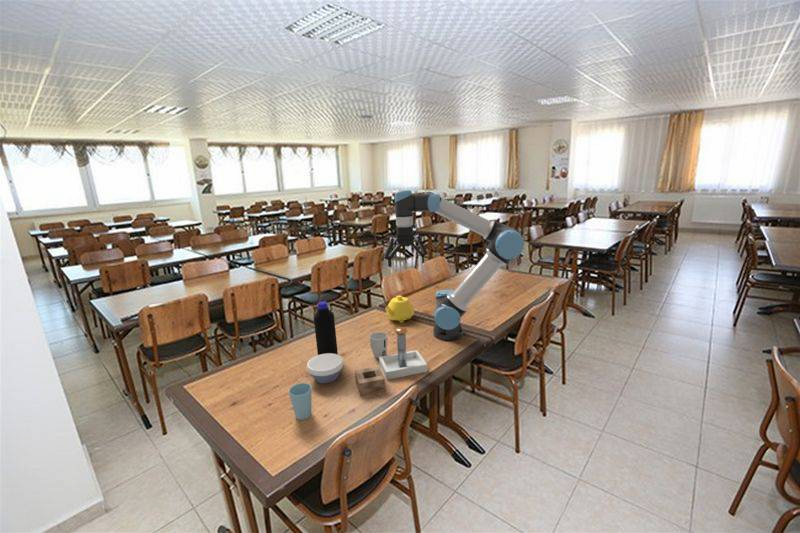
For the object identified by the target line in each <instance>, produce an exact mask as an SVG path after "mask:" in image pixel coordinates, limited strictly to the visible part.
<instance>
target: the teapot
mask: <svg viewBox="0 0 800 533" xmlns="http://www.w3.org/2000/svg"><path fill="white" fill-rule="evenodd" d="M385 311H386V316H387V317H388V318H389V321H392V322H393V321H399V322H398V323H399V324H404V323H405V321H407V320H411V319H412V317H413V315H414V314H415V309H414V306H413V304H412V303H411V301H410V300H409V298H408V297H406V296H405V297H404V296H403V295H396V297H393V298H391V299H390V301H389V303H388V305H387V306H386V307H385Z"/></svg>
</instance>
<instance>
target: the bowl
mask: <svg viewBox="0 0 800 533" xmlns="http://www.w3.org/2000/svg"><path fill="white" fill-rule="evenodd" d="M306 363H307V364H306V367H307V372H308V373H309V374H310V376H311V377H312V378H313V379H314V380H315V381H316V382H317V383H319V384H329V383H333V382H334V381H336V380H337V378H338V377H339V375H340V373H341V372H342V369H343V367H344V360H343V357H342V356H341V355H339V354H338V355H337V354H332V353H327V354H321V355H318V354H317V355H315V356H313V357H311V358H310V359H309V360H308V361H307V362H306Z"/></svg>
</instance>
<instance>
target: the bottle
mask: <svg viewBox="0 0 800 533" xmlns="http://www.w3.org/2000/svg"><path fill="white" fill-rule="evenodd" d="M328 305H329V304H328V302H327V301H324V300H323V301H318V302H317V311H316V312H315V313H314V314H313V325H314V333H315V342H316V352H317V355H321V354H327V353H332V354H337V355H339V352H338V341H337V333H336V332H337V331H336V321H335V313H334V312H332V311H331V310H330V309H329V306H328Z"/></svg>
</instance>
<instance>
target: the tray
mask: <svg viewBox="0 0 800 533" xmlns="http://www.w3.org/2000/svg"><path fill="white" fill-rule="evenodd" d="M406 358H407V367H402V368H399V366H398V352H397V353H393V354H387V355H385V356H380V357H379V358H378V363H379V367H380V369H381V372H382V374H383V376H384V378H385V379H386V380H392V379H397V378H398V379H399V378H402V377H407V376H411V375H412V376H413V375H417V374H423V372H424V373H428V363H427V362H426V360H425V359H424V357H423V356H422V355H421V354H420V352H419V351H418V350H417V349H416V350H411V351H406Z"/></svg>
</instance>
